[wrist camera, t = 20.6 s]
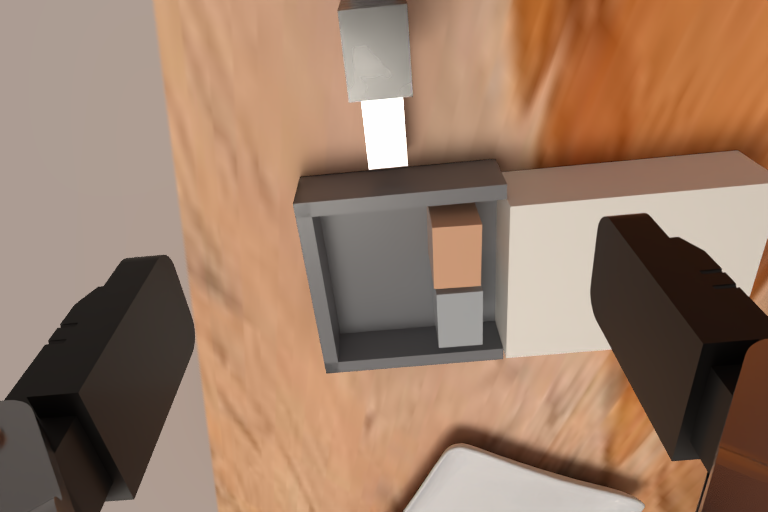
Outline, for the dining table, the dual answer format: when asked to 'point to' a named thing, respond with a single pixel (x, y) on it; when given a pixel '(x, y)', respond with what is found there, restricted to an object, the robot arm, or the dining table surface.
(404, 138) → the scraper
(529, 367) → the dining table surface
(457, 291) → the pale grey box
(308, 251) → the box
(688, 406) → the robot arm
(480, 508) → the salad plate
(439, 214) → the tan block
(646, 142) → the dining table surface
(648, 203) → the long rectangular box
